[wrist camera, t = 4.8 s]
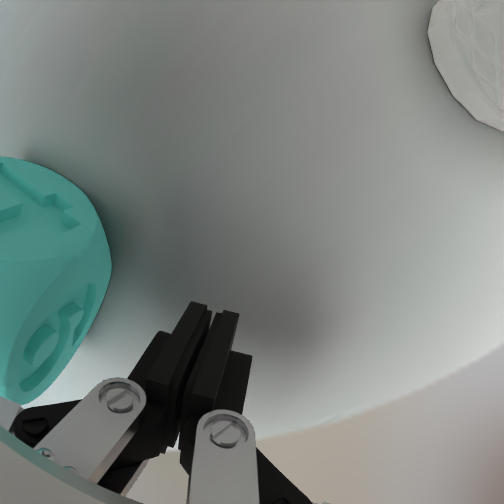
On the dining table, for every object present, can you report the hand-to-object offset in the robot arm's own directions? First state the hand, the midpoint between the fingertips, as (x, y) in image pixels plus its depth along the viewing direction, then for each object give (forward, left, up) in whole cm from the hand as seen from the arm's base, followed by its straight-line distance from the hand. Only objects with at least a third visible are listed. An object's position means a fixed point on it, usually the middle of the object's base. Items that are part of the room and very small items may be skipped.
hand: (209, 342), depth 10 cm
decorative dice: (0, -10, -3) cm, 10 cm away
